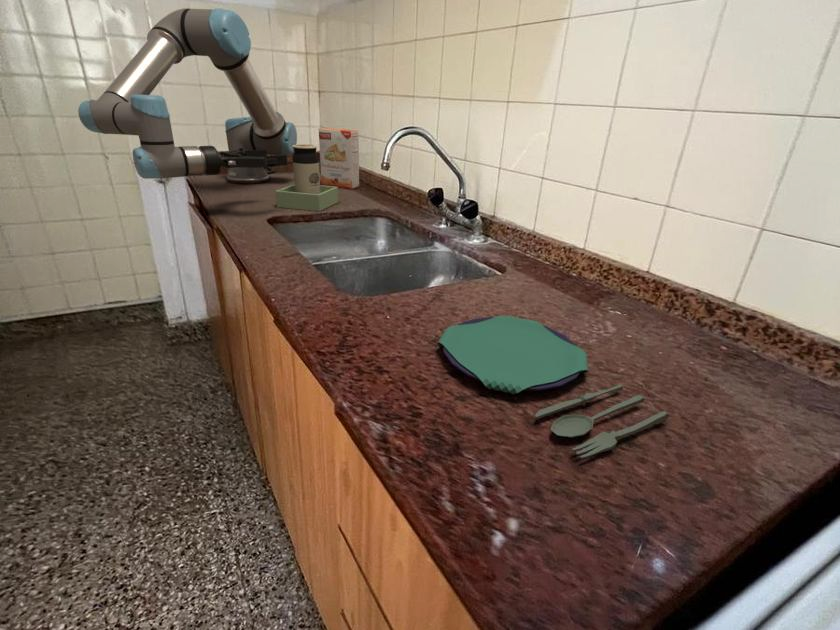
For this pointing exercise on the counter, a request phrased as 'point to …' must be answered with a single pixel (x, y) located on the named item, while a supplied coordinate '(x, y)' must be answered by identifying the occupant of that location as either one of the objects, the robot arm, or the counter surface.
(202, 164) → the robot arm
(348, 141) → the cracker box
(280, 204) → the crate
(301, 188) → the travel mug
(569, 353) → the cutlery set
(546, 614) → the counter surface
